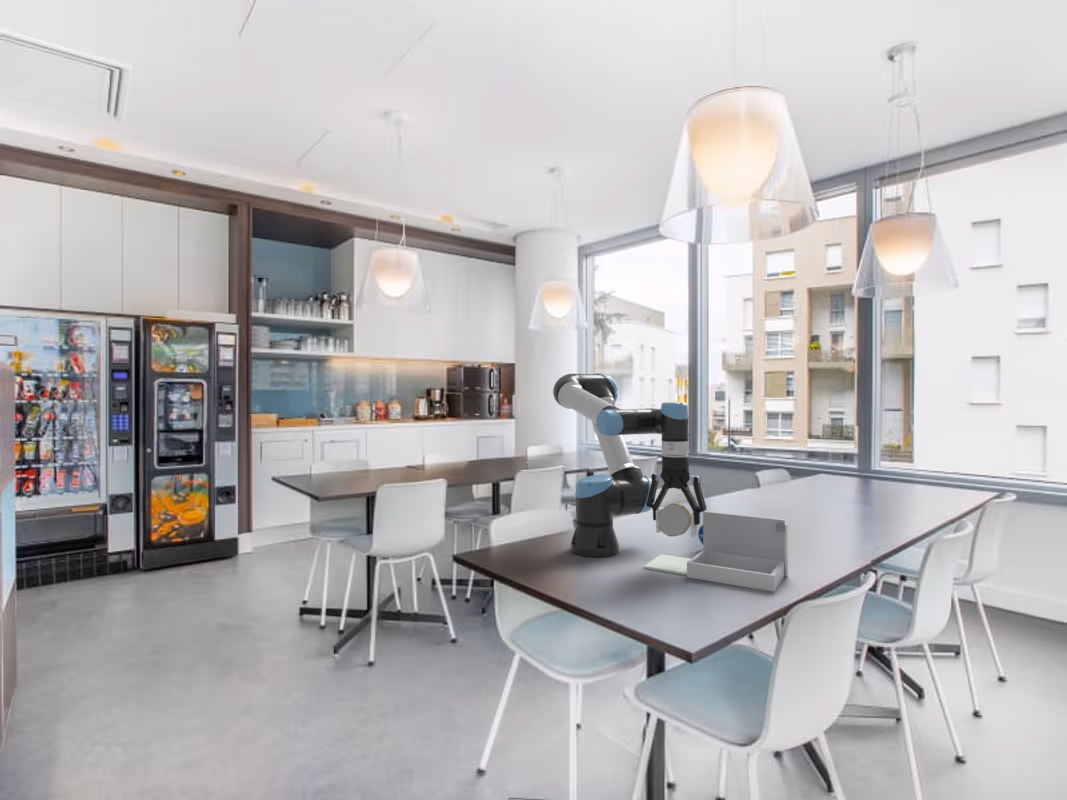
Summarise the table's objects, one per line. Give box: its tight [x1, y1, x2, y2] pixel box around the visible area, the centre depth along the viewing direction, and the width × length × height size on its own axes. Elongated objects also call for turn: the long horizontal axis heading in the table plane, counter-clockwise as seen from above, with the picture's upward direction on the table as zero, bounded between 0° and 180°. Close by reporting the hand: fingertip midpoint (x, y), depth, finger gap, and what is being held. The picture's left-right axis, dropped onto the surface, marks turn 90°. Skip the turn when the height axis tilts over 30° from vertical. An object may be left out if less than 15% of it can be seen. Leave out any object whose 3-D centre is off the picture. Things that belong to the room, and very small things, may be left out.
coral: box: [658, 502, 691, 537], centre depth 163 cm, size 10×10×10 cm
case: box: [686, 510, 789, 593], centre depth 154 cm, size 23×16×15 cm
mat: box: [643, 553, 706, 576], centre depth 164 cm, size 14×14×1 cm
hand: (676, 533), depth 163 cm, fingers closed on coral, 9 cm apart
